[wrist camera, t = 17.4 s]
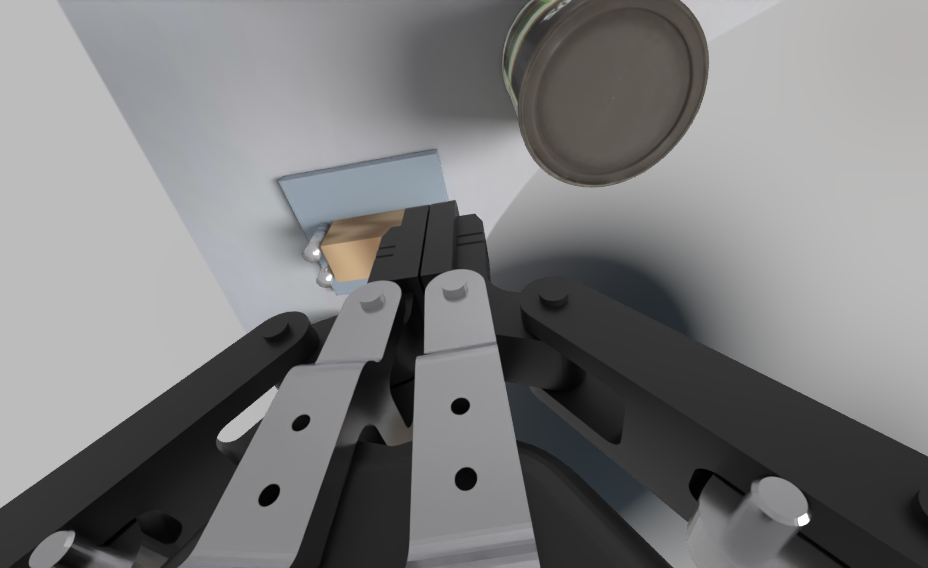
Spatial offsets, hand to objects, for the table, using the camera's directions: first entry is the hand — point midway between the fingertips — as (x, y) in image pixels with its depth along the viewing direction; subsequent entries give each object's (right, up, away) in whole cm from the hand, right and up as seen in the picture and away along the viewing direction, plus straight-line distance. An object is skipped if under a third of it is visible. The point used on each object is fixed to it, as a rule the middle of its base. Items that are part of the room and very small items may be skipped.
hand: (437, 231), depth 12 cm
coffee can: (+9, +18, +21) cm, 29 cm away
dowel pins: (-14, +3, +31) cm, 34 cm away
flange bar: (-8, +4, +30) cm, 31 cm away
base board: (-8, +5, +31) cm, 32 cm away
